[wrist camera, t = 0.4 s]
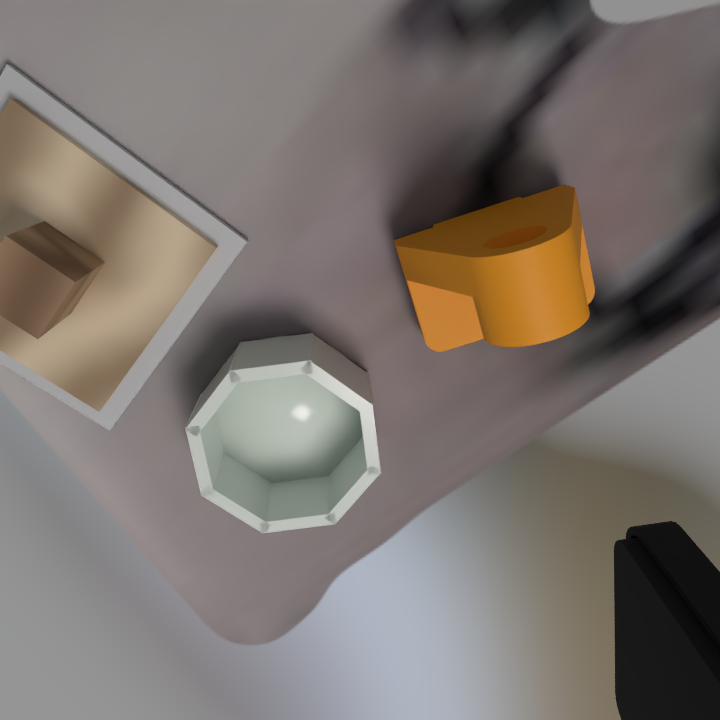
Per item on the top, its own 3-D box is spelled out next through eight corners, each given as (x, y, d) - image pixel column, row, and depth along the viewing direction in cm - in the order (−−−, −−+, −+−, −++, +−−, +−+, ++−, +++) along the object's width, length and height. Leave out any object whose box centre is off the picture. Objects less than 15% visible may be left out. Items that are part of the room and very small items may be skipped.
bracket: (423, 341, 44) (456, 420, 33) (392, 237, 42) (416, 284, 30) (581, 292, 43) (670, 354, 32) (559, 183, 41) (647, 210, 30)
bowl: (174, 427, 46) (154, 467, 40) (270, 300, 43) (262, 326, 38) (307, 512, 48) (304, 559, 43) (406, 398, 46) (416, 434, 40)
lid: (-92, 285, 41) (-157, 311, 35) (16, 98, 37) (-37, 95, 32) (103, 406, 44) (71, 448, 39) (218, 245, 41) (201, 266, 35)
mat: (-115, 286, 41) (-121, 288, 41) (11, 65, 37) (6, 64, 37) (112, 426, 45) (109, 430, 45) (248, 240, 41) (247, 241, 41)
